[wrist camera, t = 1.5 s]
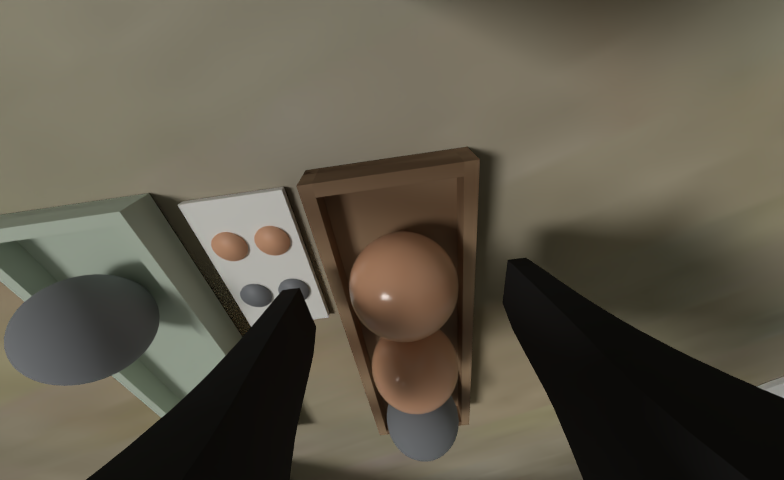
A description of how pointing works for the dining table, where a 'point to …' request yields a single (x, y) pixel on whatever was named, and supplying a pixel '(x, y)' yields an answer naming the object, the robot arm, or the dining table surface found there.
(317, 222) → the walnut trough
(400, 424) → the grey ball
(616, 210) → the dining table surface
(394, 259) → the terracotta ball
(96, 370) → the grey ball
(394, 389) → the terracotta ball
